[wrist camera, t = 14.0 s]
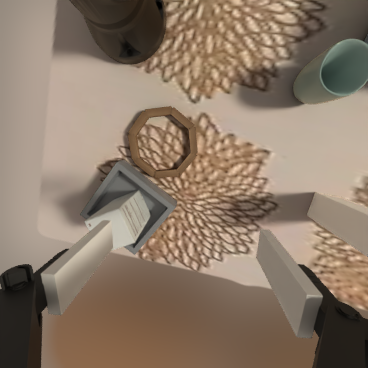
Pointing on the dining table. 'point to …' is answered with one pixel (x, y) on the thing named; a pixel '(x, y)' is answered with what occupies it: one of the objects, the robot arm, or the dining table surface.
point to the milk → (342, 219)
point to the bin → (127, 183)
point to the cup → (333, 73)
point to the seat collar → (135, 149)
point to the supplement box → (123, 218)
